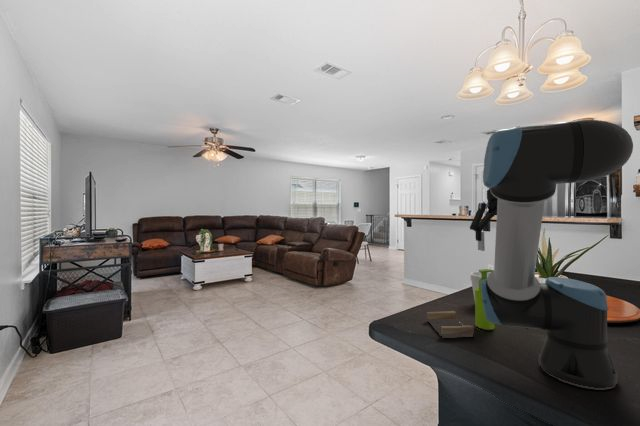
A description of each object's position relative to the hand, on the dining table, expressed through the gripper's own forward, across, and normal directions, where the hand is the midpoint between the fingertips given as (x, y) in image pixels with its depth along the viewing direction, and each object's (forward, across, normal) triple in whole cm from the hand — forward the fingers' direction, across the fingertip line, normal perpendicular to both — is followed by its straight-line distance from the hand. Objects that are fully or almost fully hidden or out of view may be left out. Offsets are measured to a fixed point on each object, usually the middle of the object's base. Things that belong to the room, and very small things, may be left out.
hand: (500, 249), depth 106 cm
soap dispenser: (+27, +6, +2) cm, 27 cm away
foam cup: (+26, -5, -18) cm, 32 cm away
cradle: (+26, +19, +1) cm, 33 cm away
